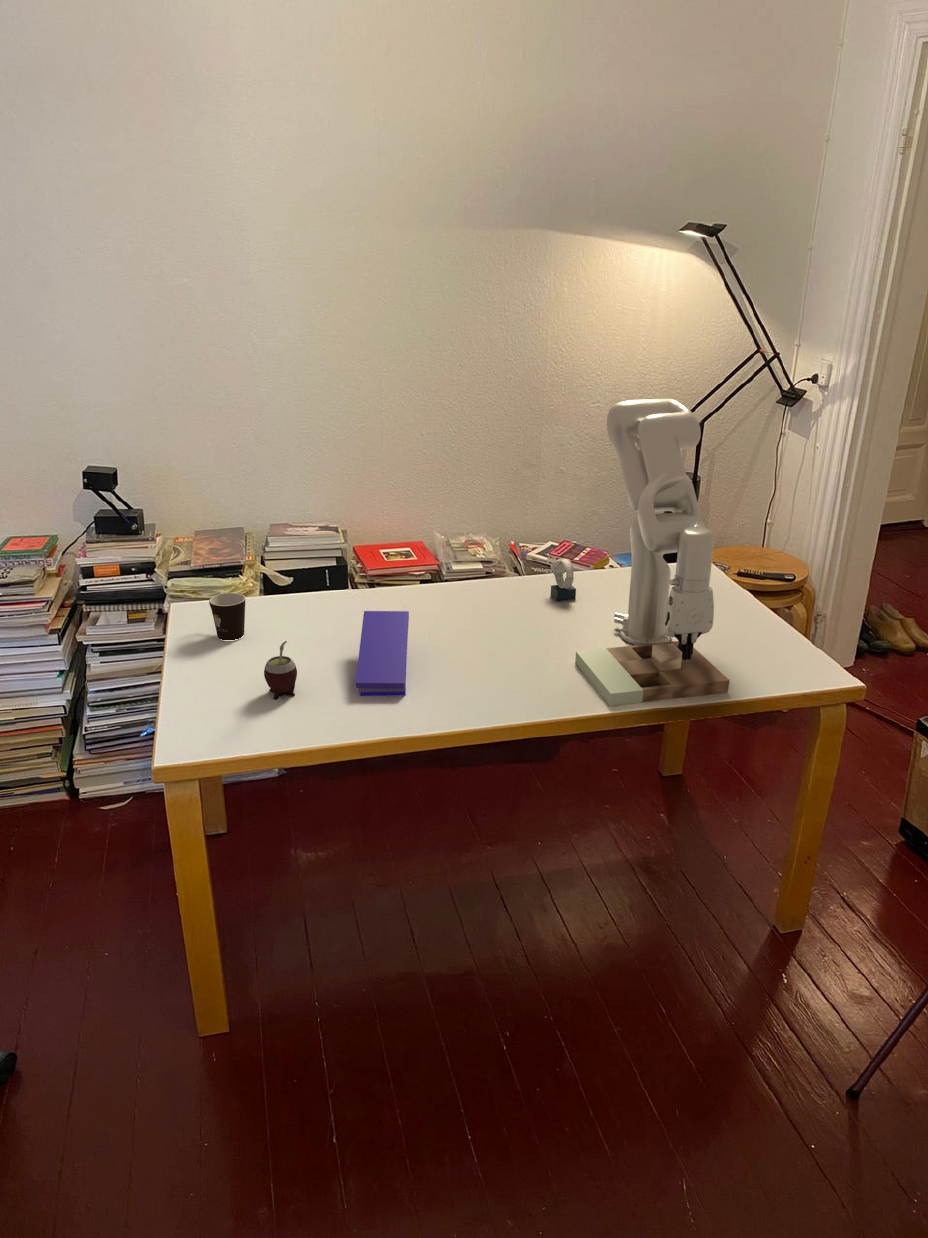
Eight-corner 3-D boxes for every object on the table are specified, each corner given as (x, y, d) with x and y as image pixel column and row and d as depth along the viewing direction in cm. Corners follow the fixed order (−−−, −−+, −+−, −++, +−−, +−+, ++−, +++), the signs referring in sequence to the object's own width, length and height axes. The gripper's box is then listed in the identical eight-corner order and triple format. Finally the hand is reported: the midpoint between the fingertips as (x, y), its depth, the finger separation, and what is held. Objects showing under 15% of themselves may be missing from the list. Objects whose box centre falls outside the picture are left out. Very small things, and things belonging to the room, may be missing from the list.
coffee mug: (251, 640, 246) (248, 603, 242) (216, 645, 243) (212, 607, 239) (243, 623, 256) (239, 586, 252) (208, 627, 253) (205, 591, 249)
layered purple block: (409, 644, 245) (408, 607, 241) (408, 698, 219) (407, 657, 215) (362, 645, 245) (361, 608, 241) (355, 698, 219) (354, 658, 215)
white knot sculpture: (565, 591, 277) (567, 554, 273) (578, 601, 270) (580, 563, 266) (547, 593, 276) (548, 556, 271) (559, 604, 269) (561, 565, 264)
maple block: (660, 670, 225) (661, 654, 223) (651, 661, 229) (652, 645, 228) (680, 668, 226) (682, 652, 224) (671, 659, 230) (672, 643, 229)
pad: (609, 706, 216) (610, 693, 214) (575, 662, 235) (575, 651, 234) (642, 702, 217) (643, 690, 216) (605, 659, 237) (605, 648, 236)
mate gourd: (276, 684, 224) (272, 622, 218) (307, 690, 222) (303, 628, 216) (258, 698, 218) (253, 635, 212) (290, 705, 215) (285, 641, 209)
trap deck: (642, 702, 217) (643, 690, 216) (605, 659, 237) (605, 648, 236) (728, 692, 222) (729, 680, 221) (684, 651, 242) (685, 640, 240)
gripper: (668, 591, 216) (661, 667, 223) (730, 585, 220) (722, 660, 227) (653, 579, 223) (647, 654, 230) (714, 573, 227) (706, 647, 234)
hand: (684, 657), depth 229 cm, fingers closed
